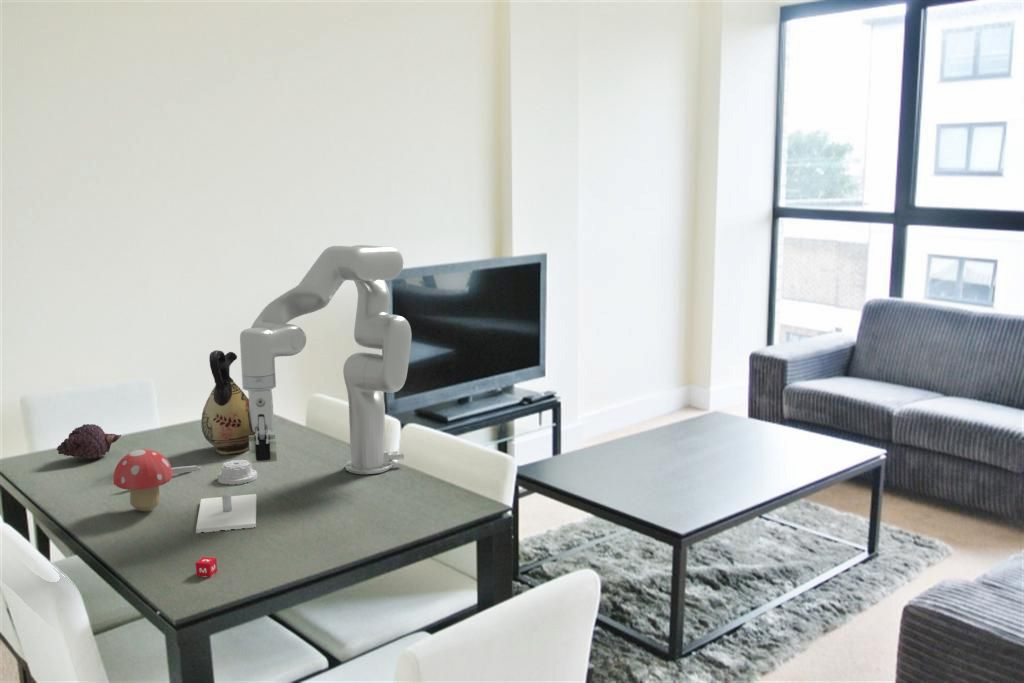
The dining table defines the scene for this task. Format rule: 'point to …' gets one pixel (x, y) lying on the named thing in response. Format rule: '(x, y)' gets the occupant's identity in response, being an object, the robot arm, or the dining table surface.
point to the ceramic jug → (226, 409)
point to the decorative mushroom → (143, 477)
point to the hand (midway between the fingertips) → (262, 455)
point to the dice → (206, 566)
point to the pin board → (227, 513)
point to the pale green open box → (253, 450)
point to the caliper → (185, 469)
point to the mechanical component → (237, 472)
